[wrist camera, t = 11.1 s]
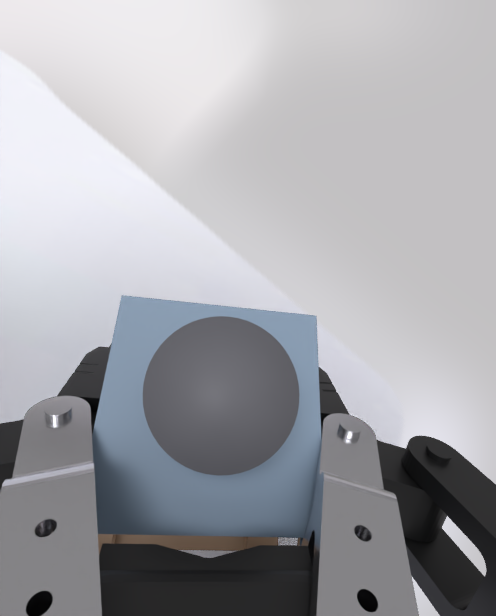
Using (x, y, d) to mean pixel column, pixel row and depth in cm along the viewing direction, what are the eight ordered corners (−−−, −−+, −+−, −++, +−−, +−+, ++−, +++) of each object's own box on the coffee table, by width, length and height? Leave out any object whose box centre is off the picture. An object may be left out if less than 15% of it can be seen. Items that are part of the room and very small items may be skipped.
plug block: (252, 497, 15) (375, 565, 5) (134, 493, 14) (25, 562, 4) (255, 383, 17) (349, 278, 7) (152, 375, 16) (104, 249, 6)
